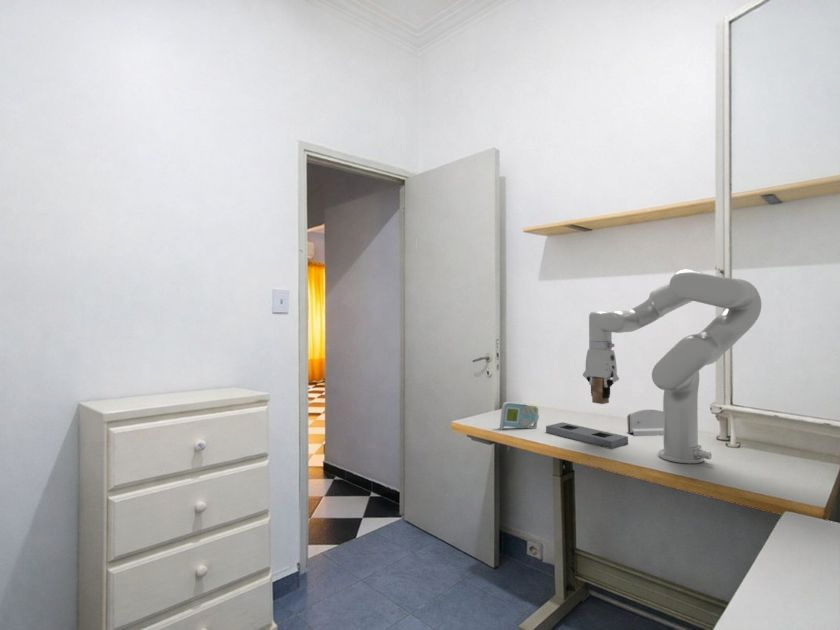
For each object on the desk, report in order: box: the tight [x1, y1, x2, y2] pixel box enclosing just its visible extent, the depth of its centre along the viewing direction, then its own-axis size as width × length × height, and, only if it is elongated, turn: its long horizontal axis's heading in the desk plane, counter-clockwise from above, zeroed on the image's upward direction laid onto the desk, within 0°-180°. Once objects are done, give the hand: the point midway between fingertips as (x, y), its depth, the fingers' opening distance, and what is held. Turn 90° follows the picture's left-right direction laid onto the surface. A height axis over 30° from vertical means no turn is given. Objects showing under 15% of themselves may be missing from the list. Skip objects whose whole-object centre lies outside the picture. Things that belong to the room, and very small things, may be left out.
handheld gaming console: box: [499, 401, 540, 430], centre depth 190 cm, size 11×3×15 cm
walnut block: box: [591, 377, 610, 405], centre depth 169 cm, size 4×4×9 cm
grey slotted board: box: [545, 422, 629, 450], centre depth 174 cm, size 28×10×2 cm, turn 35°
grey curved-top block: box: [626, 409, 664, 437], centre depth 180 cm, size 17×5×10 cm, turn 92°
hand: (600, 396), depth 169 cm, fingers closed on walnut block, 4 cm apart
